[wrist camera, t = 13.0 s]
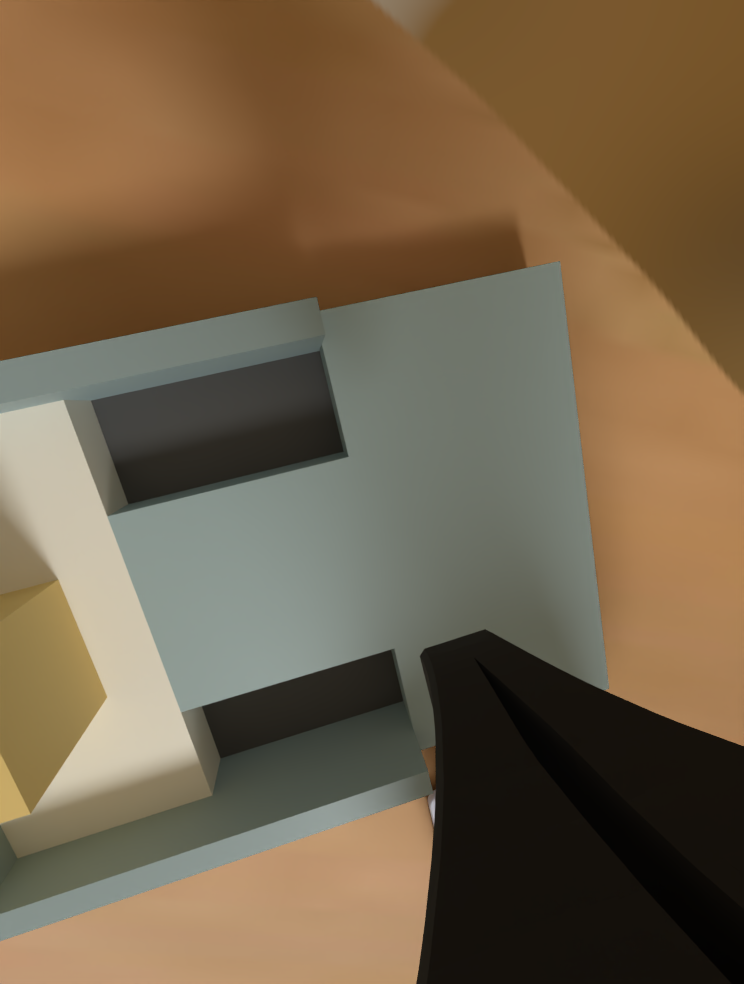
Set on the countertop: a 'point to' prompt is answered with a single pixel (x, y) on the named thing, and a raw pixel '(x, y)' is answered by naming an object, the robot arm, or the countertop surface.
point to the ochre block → (40, 693)
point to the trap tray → (284, 563)
